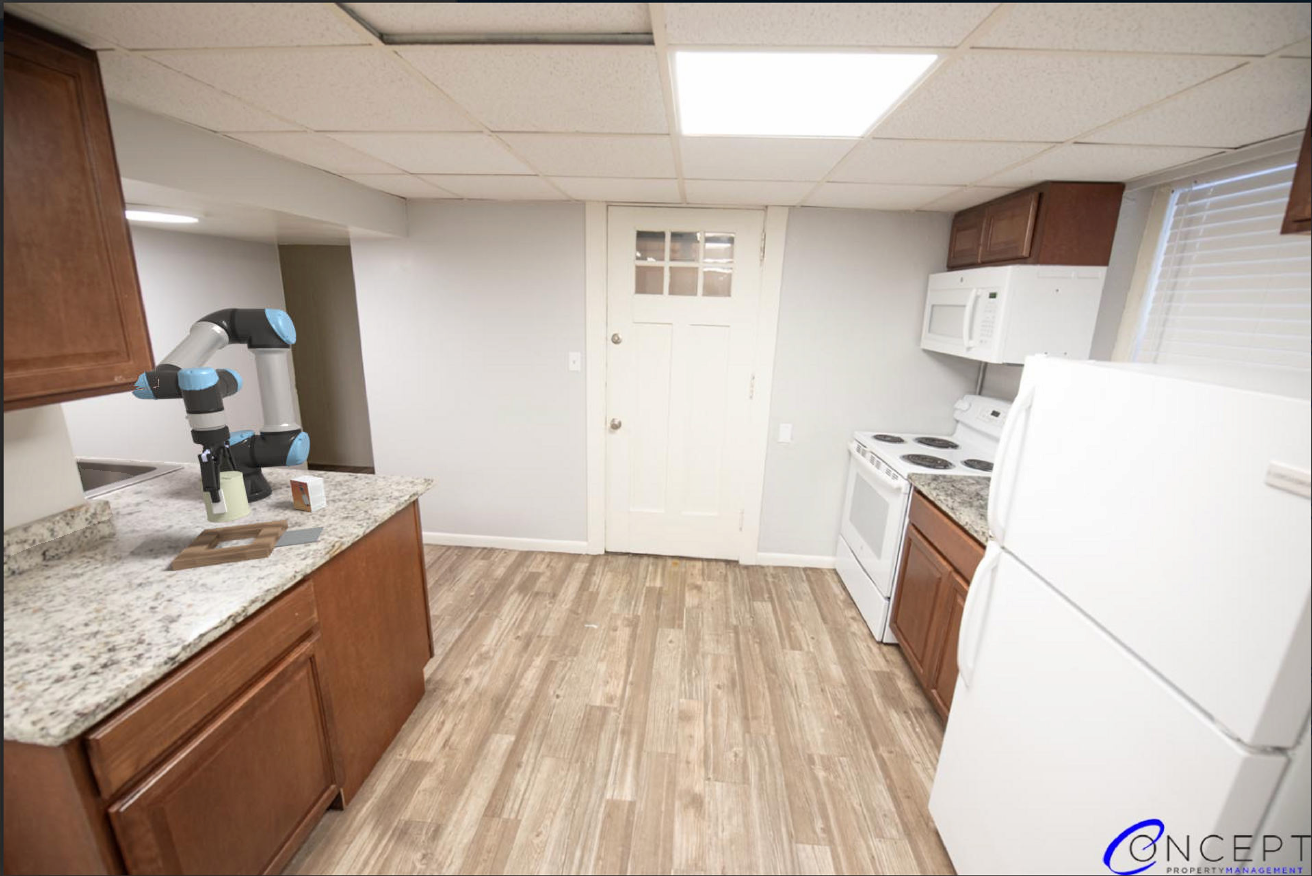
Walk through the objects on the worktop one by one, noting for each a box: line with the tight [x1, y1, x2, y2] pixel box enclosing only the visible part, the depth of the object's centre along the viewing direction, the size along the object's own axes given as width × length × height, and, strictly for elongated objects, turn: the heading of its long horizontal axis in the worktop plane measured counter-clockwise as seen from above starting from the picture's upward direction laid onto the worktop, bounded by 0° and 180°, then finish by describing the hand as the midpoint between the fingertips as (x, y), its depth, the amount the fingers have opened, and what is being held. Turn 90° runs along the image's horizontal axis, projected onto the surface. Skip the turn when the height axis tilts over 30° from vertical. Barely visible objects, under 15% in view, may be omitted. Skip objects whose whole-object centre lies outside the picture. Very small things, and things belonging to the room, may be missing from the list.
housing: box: [171, 519, 289, 572], centre depth 139 cm, size 20×20×2 cm
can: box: [198, 471, 252, 524], centre depth 136 cm, size 9×9×12 cm
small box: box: [289, 474, 328, 513], centre depth 165 cm, size 8×6×10 cm
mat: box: [275, 526, 325, 548], centre depth 146 cm, size 10×10×1 cm
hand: (227, 505), depth 136 cm, fingers closed on can, 9 cm apart
